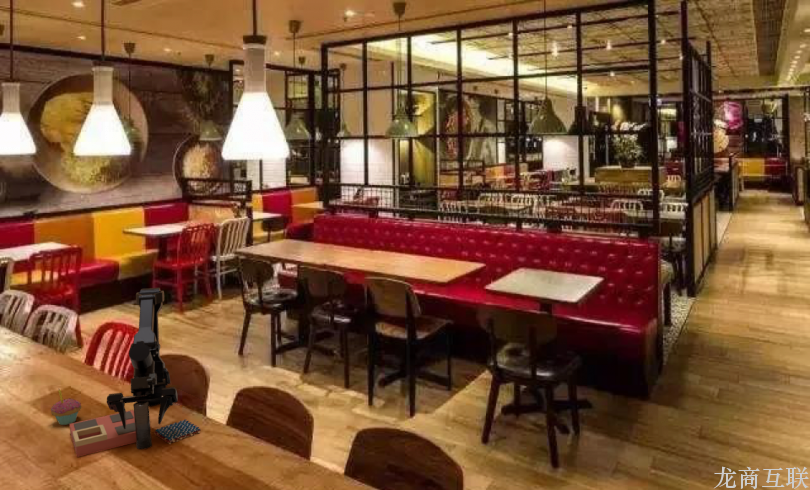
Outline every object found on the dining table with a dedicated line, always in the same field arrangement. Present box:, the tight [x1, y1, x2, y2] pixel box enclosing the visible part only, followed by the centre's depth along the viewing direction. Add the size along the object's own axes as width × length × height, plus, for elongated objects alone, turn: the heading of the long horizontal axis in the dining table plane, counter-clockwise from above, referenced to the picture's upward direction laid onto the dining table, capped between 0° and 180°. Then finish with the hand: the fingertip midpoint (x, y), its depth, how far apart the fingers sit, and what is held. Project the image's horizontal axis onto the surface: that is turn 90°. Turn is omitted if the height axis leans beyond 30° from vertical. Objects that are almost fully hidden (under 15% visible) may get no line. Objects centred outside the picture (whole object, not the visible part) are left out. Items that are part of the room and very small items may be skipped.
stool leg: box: [132, 401, 152, 450], centre depth 176 cm, size 4×4×13 cm
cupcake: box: [50, 388, 82, 426], centre depth 193 cm, size 9×8×12 cm
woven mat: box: [153, 419, 201, 445], centre depth 185 cm, size 10×11×2 cm
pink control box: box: [69, 409, 136, 458], centre depth 183 cm, size 18×18×4 cm
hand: (142, 426), depth 175 cm, fingers open, 9 cm apart
